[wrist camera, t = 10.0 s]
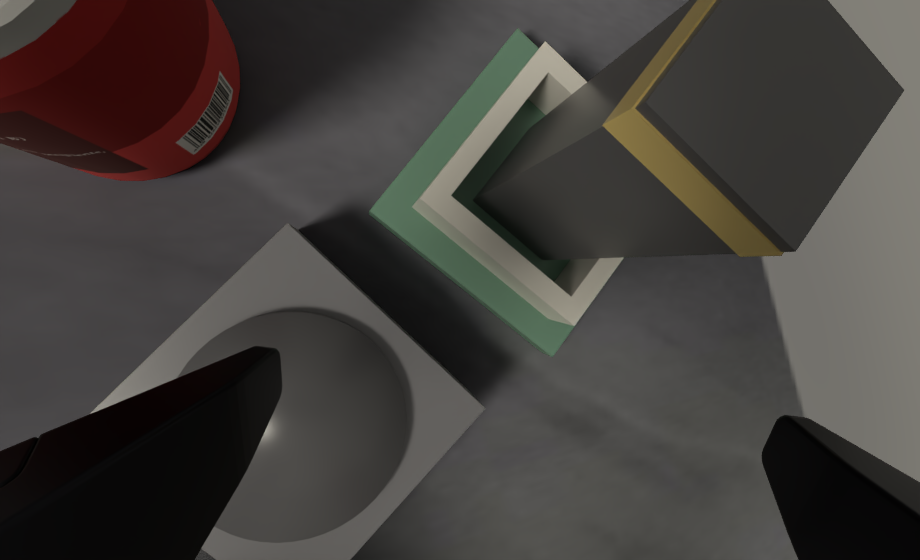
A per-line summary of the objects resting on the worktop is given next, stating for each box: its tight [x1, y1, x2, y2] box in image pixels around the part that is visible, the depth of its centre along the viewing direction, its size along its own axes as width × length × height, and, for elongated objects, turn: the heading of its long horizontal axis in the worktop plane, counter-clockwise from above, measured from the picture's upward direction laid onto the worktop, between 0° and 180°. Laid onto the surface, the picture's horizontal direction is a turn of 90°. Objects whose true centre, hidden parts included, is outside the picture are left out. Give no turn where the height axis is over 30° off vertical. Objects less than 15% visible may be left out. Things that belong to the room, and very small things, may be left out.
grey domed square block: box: [90, 223, 485, 560], centre depth 18 cm, size 10×10×3 cm
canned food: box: [0, 0, 240, 181], centre depth 13 cm, size 8×8×11 cm
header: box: [369, 28, 624, 357], centre depth 20 cm, size 10×10×4 cm
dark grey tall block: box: [473, 0, 904, 260], centre depth 14 cm, size 5×4×12 cm
